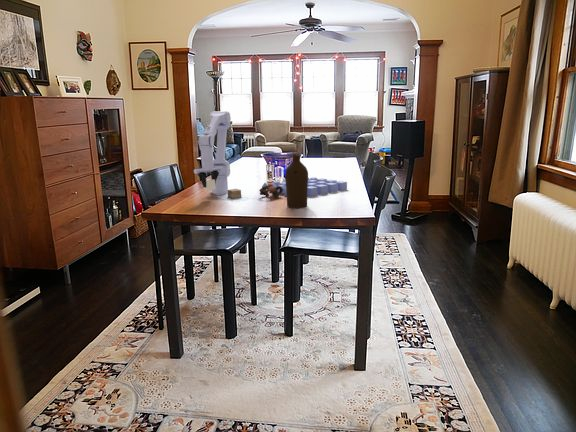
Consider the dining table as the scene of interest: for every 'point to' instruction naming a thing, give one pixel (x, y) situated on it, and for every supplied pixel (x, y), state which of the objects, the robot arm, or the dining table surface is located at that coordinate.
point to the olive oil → (296, 183)
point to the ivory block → (209, 184)
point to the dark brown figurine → (272, 189)
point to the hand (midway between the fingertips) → (209, 186)
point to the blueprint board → (235, 198)
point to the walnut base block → (234, 193)
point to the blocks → (315, 186)
